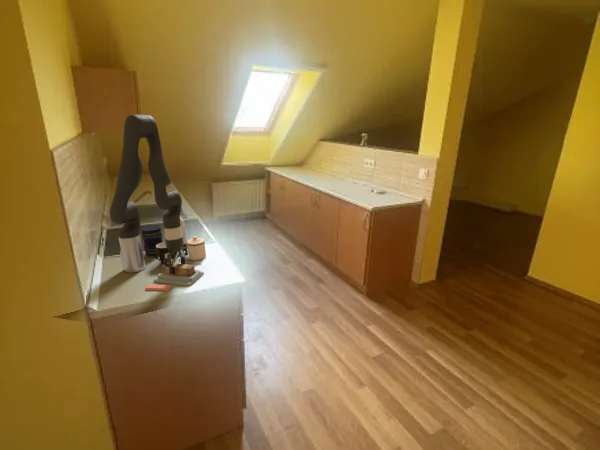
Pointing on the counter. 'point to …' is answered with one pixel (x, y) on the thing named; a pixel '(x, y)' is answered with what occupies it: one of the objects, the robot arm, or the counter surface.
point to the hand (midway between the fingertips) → (178, 269)
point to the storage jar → (151, 239)
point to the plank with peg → (180, 270)
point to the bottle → (183, 230)
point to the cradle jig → (178, 278)
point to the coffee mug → (161, 252)
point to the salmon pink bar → (158, 287)
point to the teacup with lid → (196, 248)
